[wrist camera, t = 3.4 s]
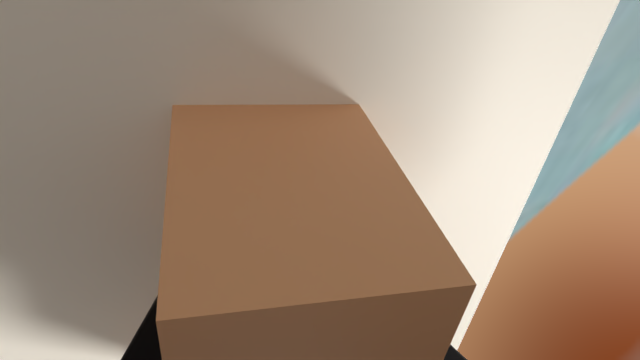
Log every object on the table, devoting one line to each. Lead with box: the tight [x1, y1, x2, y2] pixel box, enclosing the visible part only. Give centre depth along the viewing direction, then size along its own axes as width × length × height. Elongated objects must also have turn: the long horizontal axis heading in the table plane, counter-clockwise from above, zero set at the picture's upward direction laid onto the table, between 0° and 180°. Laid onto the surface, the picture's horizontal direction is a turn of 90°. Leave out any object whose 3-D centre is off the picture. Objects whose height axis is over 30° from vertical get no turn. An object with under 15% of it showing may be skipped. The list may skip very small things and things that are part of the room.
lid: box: [0, 0, 620, 360], centre depth 9 cm, size 12×12×6 cm
